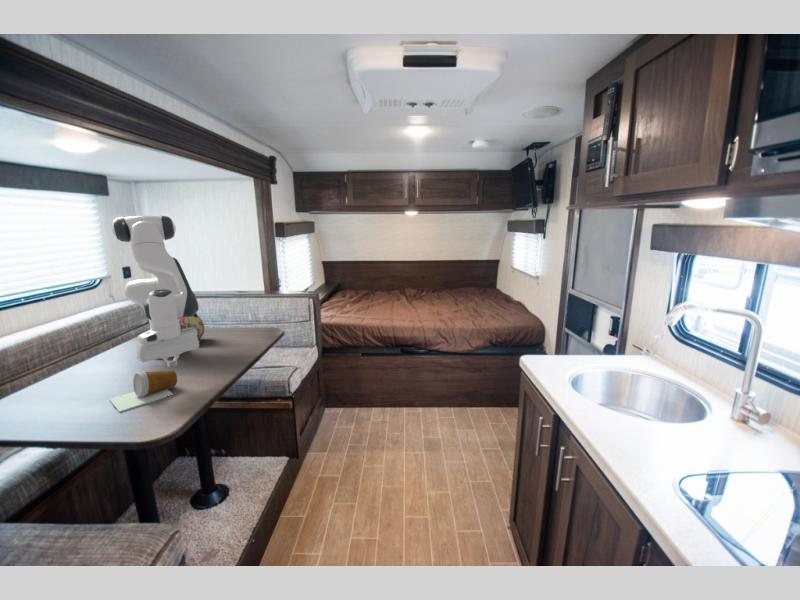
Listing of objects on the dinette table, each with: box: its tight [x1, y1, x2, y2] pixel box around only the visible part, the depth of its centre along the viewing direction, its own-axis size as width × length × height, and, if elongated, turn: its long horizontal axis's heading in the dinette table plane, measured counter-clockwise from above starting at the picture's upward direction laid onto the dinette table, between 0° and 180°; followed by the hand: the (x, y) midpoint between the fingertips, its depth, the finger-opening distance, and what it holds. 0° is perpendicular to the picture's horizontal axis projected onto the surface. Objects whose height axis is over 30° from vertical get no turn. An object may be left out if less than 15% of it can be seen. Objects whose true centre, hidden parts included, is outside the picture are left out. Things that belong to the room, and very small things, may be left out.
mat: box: [108, 388, 174, 414], centre depth 125 cm, size 14×16×1 cm
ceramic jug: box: [178, 292, 205, 343], centre depth 184 cm, size 17×15×30 cm
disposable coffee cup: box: [132, 370, 178, 397], centre depth 129 cm, size 10×10×12 cm
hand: (172, 365), depth 132 cm, fingers closed
